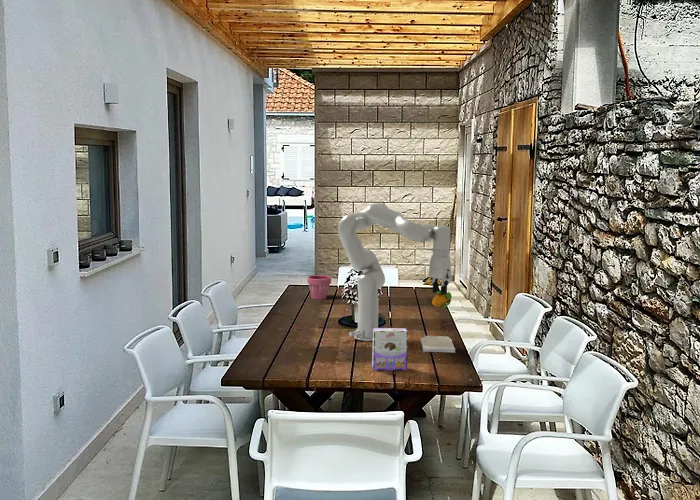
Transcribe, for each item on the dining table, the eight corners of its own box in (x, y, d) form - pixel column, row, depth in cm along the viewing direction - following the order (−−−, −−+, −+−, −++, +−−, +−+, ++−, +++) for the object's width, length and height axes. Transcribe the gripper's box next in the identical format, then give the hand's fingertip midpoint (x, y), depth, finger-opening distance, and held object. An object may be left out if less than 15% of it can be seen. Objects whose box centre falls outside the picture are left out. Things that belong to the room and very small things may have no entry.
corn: (454, 287, 349) (443, 294, 330) (454, 303, 350) (443, 311, 331) (438, 287, 352) (426, 294, 333) (439, 303, 352) (427, 311, 334)
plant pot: (317, 301, 447) (317, 279, 445) (302, 297, 457) (302, 276, 455) (335, 298, 456) (335, 277, 455) (320, 294, 466) (320, 274, 465)
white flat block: (455, 352, 334) (455, 344, 334) (423, 351, 335) (423, 343, 334) (450, 341, 354) (450, 334, 354) (420, 340, 354) (421, 333, 354)
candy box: (405, 367, 309) (406, 327, 307) (406, 371, 303) (408, 331, 301) (371, 366, 309) (372, 327, 307) (372, 370, 303) (373, 330, 301)
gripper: (422, 251, 344) (420, 291, 346) (448, 255, 330) (446, 297, 332) (434, 250, 348) (433, 289, 350) (460, 254, 335) (458, 295, 337)
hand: (439, 292), depth 341 cm, fingers closed on corn, 4 cm apart
